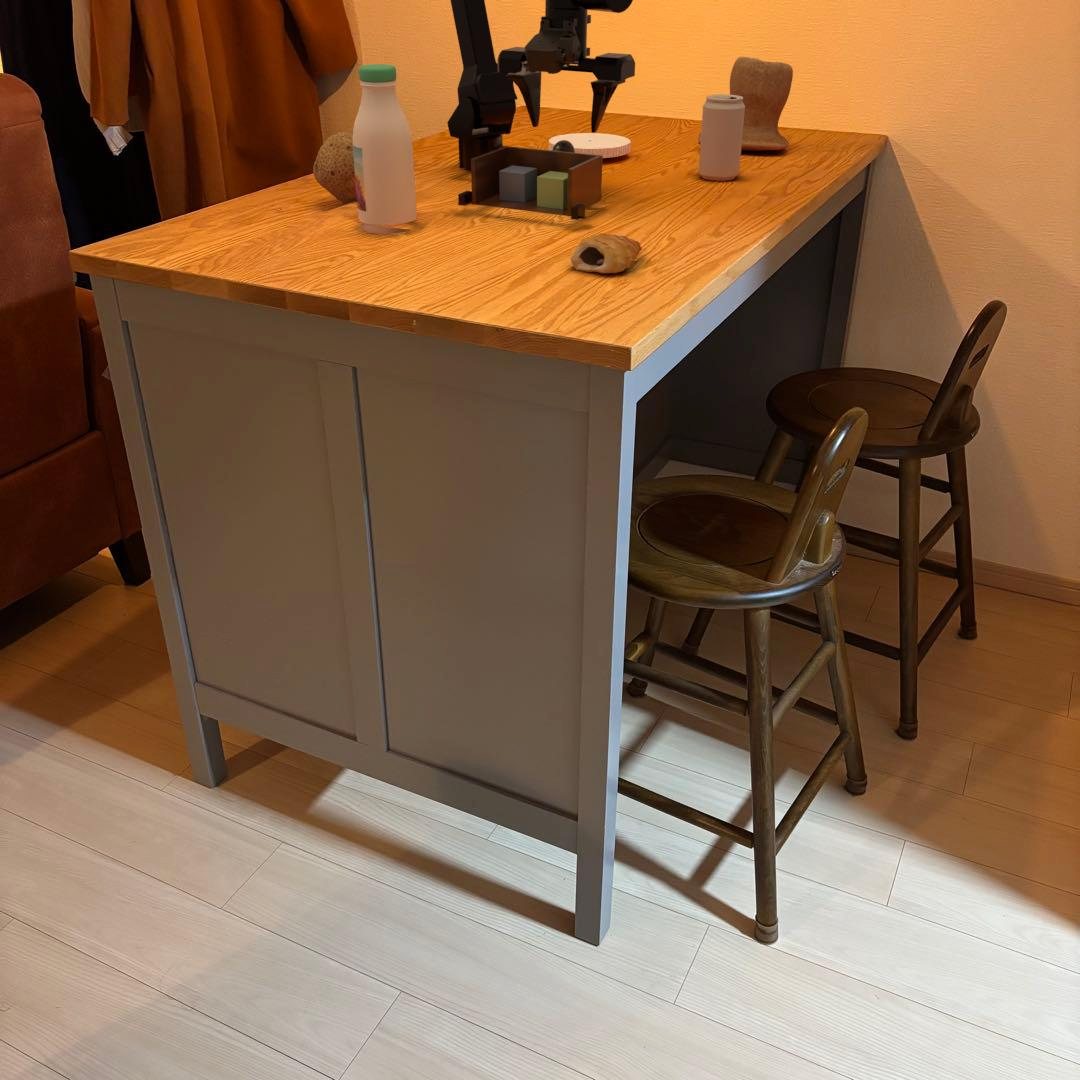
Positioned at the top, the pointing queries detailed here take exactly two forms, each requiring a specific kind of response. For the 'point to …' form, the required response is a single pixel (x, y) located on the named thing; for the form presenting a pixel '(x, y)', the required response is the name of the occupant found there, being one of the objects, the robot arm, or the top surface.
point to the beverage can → (721, 137)
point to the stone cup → (761, 101)
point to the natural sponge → (337, 167)
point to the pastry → (605, 253)
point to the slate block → (518, 184)
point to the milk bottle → (382, 154)
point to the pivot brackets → (576, 211)
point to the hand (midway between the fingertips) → (564, 129)
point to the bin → (562, 159)
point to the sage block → (552, 190)
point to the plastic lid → (595, 144)
